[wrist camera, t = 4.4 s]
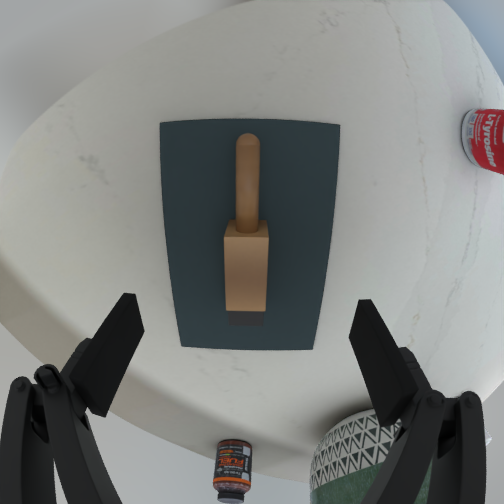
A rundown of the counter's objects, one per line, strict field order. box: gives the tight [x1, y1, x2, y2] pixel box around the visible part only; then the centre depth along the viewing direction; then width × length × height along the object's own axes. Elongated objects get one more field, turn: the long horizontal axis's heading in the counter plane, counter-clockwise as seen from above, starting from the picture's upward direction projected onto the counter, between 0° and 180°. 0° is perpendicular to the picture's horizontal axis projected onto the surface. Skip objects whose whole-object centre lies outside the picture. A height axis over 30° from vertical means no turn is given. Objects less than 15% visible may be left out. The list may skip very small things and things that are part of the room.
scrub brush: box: [224, 133, 269, 326], centre depth 20 cm, size 15×3×4 cm, turn 179°
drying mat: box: [160, 119, 340, 350], centre depth 23 cm, size 22×14×1 cm, turn 179°
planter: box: [310, 409, 432, 504], centre depth 25 cm, size 20×20×21 cm
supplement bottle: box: [213, 440, 252, 504], centre depth 33 cm, size 6×6×11 cm
